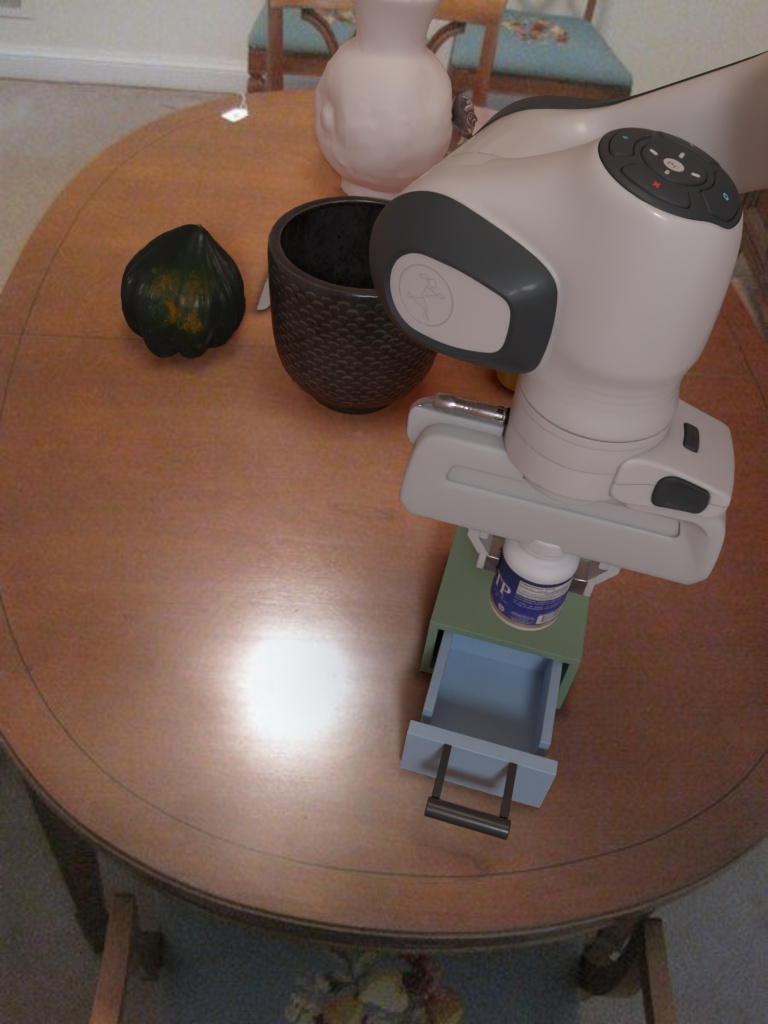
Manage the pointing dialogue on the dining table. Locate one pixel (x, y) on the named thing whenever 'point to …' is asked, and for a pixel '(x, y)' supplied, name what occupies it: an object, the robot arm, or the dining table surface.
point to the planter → (337, 309)
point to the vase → (384, 100)
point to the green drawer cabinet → (473, 616)
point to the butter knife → (264, 297)
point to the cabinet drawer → (485, 729)
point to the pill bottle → (531, 583)
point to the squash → (183, 293)
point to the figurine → (461, 122)
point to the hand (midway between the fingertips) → (533, 575)
